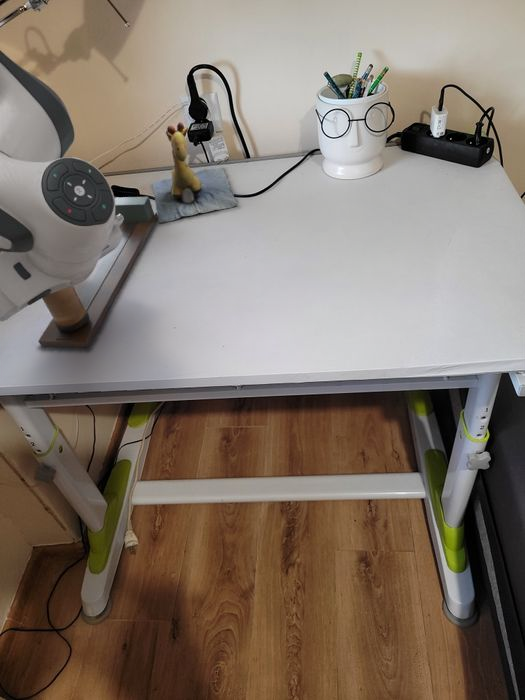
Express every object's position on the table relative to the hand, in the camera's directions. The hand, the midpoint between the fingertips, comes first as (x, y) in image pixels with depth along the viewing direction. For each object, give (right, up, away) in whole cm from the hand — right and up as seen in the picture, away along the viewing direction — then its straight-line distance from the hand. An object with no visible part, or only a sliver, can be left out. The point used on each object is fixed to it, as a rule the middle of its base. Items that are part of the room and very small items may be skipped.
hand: (51, 283), depth 76 cm
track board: (+4, +4, +15) cm, 16 cm away
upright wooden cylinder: (+1, -5, +5) cm, 7 cm away
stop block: (+6, +16, +26) cm, 31 cm away
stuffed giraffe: (+17, +23, +32) cm, 43 cm away
